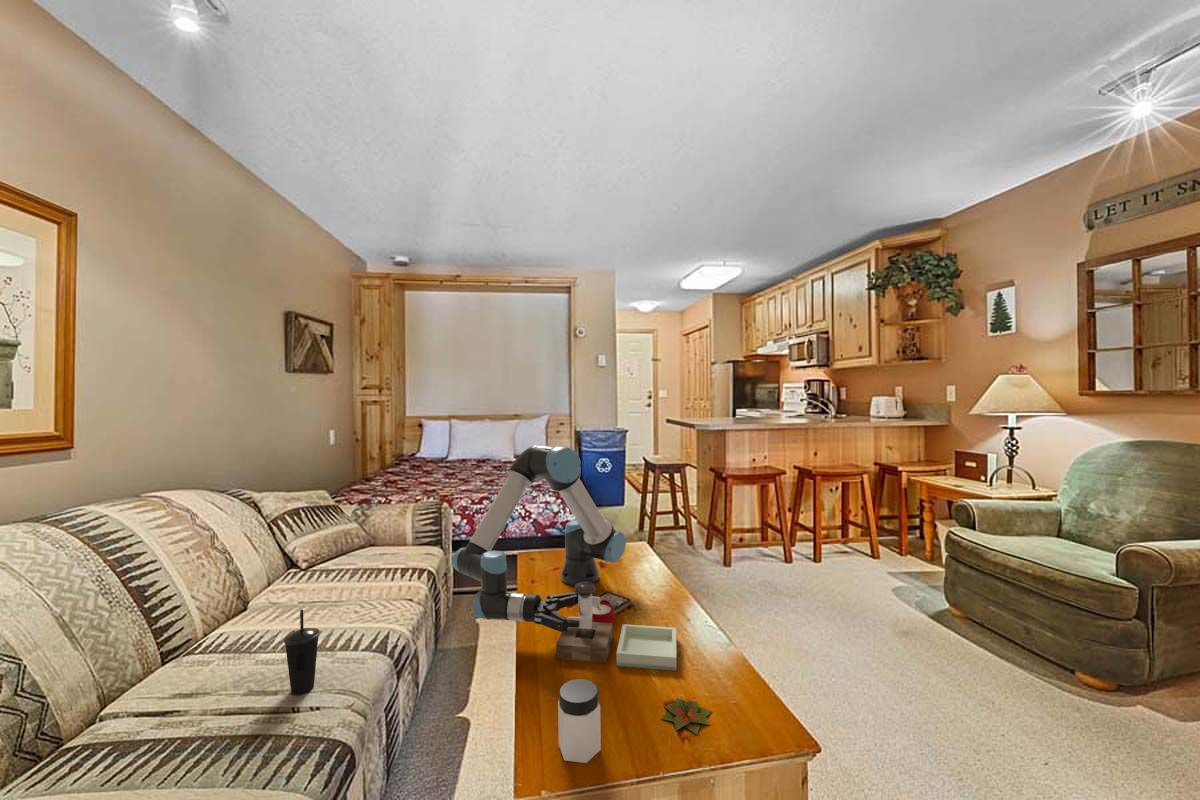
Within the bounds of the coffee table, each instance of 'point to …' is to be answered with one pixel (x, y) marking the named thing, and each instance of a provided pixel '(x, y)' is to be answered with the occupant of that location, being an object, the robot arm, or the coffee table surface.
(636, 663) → the sage tray
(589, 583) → the steel pin
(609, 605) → the alarm clock
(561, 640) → the brown square frame
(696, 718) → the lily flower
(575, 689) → the jar
